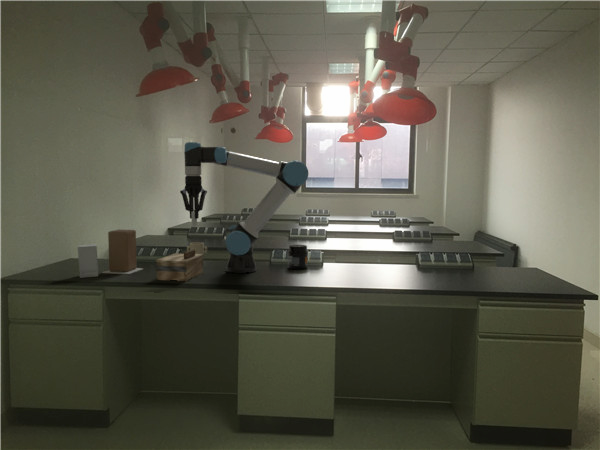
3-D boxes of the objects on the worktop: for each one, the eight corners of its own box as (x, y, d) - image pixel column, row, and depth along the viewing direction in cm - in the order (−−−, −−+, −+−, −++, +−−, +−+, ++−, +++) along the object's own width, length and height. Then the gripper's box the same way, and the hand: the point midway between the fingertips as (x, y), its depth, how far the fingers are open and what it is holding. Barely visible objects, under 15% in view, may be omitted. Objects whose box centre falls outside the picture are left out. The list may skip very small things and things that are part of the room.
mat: (143, 269, 235) (143, 268, 235) (129, 274, 221) (129, 273, 221) (118, 268, 237) (118, 267, 237) (102, 273, 223) (102, 272, 223)
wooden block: (137, 268, 234) (136, 229, 232) (127, 272, 224) (126, 231, 222) (118, 268, 235) (118, 229, 233) (108, 271, 225) (107, 231, 223)
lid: (203, 256, 226) (203, 248, 226) (186, 263, 206) (186, 254, 206) (175, 255, 229) (175, 247, 228) (155, 262, 208) (155, 253, 208)
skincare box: (98, 274, 220) (97, 243, 219) (98, 276, 215) (97, 245, 214) (78, 275, 217) (77, 244, 215) (78, 278, 211) (77, 246, 210)
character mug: (209, 266, 244) (209, 242, 243) (205, 269, 237) (205, 244, 236) (189, 266, 245) (188, 242, 244) (184, 268, 238) (184, 243, 237)
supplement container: (309, 267, 246) (309, 244, 245) (305, 270, 236) (305, 247, 235) (290, 265, 249) (290, 244, 248) (285, 269, 239) (285, 246, 238)
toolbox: (202, 272, 227) (202, 256, 226) (186, 281, 207) (186, 263, 206) (175, 271, 229) (175, 255, 229) (156, 280, 209) (156, 262, 208)
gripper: (209, 175, 218) (210, 225, 220) (183, 175, 221) (185, 224, 223) (202, 175, 211) (204, 226, 213) (176, 175, 213) (178, 226, 215)
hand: (194, 225), depth 218 cm, fingers closed
